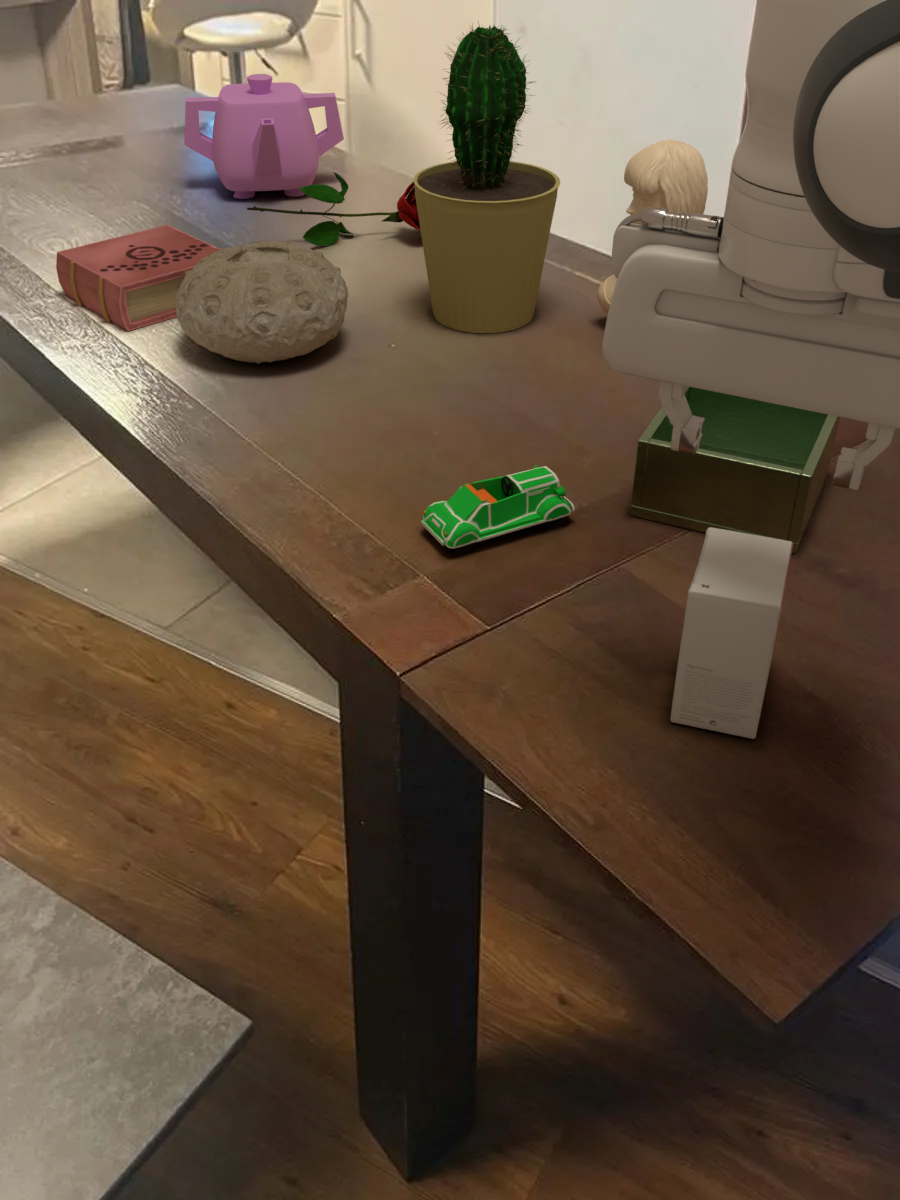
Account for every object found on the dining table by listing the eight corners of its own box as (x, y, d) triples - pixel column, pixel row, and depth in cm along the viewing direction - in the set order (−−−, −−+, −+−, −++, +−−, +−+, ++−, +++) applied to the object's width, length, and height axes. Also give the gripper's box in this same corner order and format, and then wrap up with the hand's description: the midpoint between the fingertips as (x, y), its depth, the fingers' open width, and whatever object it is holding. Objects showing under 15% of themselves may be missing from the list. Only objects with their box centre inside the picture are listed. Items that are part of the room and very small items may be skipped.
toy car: (543, 494, 100) (546, 449, 98) (577, 523, 97) (580, 477, 94) (417, 530, 96) (417, 483, 93) (447, 561, 92) (448, 514, 89)
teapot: (275, 215, 160) (266, 97, 152) (176, 193, 168) (161, 79, 160) (359, 181, 174) (355, 71, 165) (263, 162, 182) (254, 56, 173)
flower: (249, 160, 141) (489, 165, 149) (242, 178, 150) (468, 182, 158) (253, 238, 142) (491, 239, 150) (246, 251, 152) (471, 251, 159)
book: (58, 296, 136) (49, 253, 133) (172, 265, 145) (167, 224, 142) (121, 333, 128) (113, 288, 125) (239, 298, 136) (234, 255, 133)
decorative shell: (146, 358, 122) (131, 263, 117) (246, 301, 135) (237, 213, 129) (291, 393, 116) (283, 295, 110) (381, 329, 129) (378, 238, 123)
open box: (827, 476, 103) (843, 403, 99) (795, 554, 93) (811, 476, 89) (675, 444, 108) (684, 373, 104) (629, 515, 98) (637, 440, 93)
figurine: (582, 314, 133) (596, 127, 121) (657, 304, 135) (677, 121, 123) (635, 362, 122) (656, 163, 111) (715, 350, 125) (743, 154, 113)
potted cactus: (513, 352, 124) (525, 41, 107) (388, 323, 130) (380, 24, 113) (575, 304, 135) (595, 15, 117) (457, 279, 141) (460, 1, 124)
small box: (755, 743, 75) (782, 609, 69) (667, 723, 77) (687, 591, 70) (769, 668, 81) (796, 539, 75) (688, 651, 83) (707, 524, 77)
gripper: (597, 218, 62) (577, 451, 70) (1013, 283, 55) (937, 532, 63) (634, 186, 67) (611, 407, 75) (1021, 242, 60) (950, 479, 68)
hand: (764, 465), depth 69 cm, fingers open, 8 cm apart
